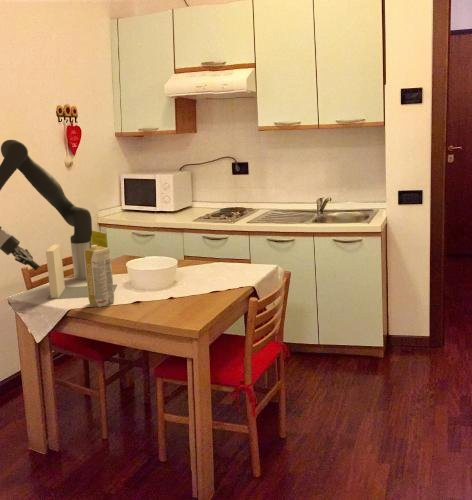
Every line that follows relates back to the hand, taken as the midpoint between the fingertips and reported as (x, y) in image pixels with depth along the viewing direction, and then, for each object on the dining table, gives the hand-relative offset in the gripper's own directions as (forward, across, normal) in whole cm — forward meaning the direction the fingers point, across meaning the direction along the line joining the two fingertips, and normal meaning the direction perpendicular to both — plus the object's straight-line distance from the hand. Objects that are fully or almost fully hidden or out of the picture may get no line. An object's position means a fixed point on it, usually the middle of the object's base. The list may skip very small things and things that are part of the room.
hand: (37, 268), depth 272 cm
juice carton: (+29, -18, -12) cm, 36 cm away
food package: (+23, +34, -6) cm, 42 cm away
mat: (+21, 0, -4) cm, 21 cm away
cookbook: (+13, 0, +3) cm, 14 cm away
